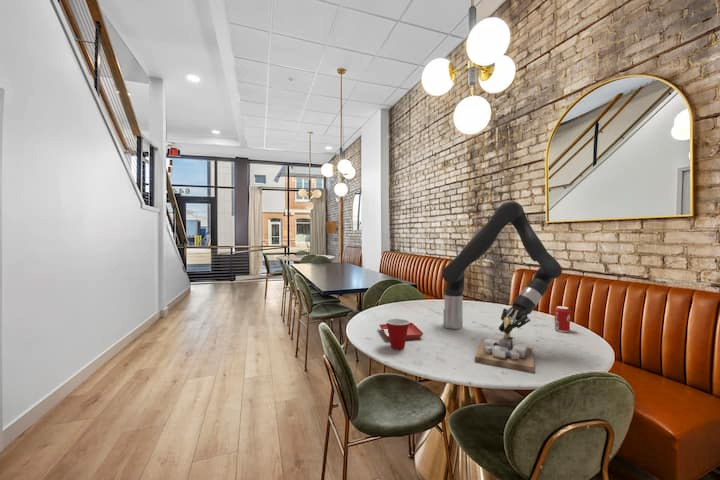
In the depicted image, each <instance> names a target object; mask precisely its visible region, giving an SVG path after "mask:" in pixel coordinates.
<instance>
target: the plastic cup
mask: <svg viewBox="0 0 720 480" xmlns="http://www.w3.org/2000/svg"><path fill="white" fill-rule="evenodd" d="M410 322H411V321H410V320H408V319H403V318H389V319H388V318H387V319H386V320H385V324H387V328H388V333H389V339H390V340H389V339H388V340H389V342H390V343H389V344H390V347H392V348H393V349H392V348H391V349H392V350H395V349H402V350H404V349H405V346H406V336H407V329H408V326H409V324H410ZM403 348H404V349H403Z"/></svg>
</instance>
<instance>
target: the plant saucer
mask: <svg viewBox="0 0 720 480" xmlns="http://www.w3.org/2000/svg"><path fill="white" fill-rule="evenodd" d="M378 326H379V328H380V330H381V331H382V332H383V334H384V336H385V337H386V338H387V340H388V341H390V339H389V336H387V335H386V334H385V332H384V331H383V329H388V328H387V323H385V324H384V323H382V324H378ZM423 335H424V332H423V331H422V330H421V329H420V328H419V327H418V326H417V325H415V324H414V323H413V322H411V321H410V324H409V326H408V329H407V336H406V339H408V340H419V339H420V338H421V337H422V336H423Z"/></svg>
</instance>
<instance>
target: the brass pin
mask: <svg viewBox="0 0 720 480" xmlns="http://www.w3.org/2000/svg"><path fill="white" fill-rule="evenodd" d="M510 318H511V317H510ZM510 318H509V317H504V329H505V328H506V327H507V325H508V324H510ZM503 336H504V338H505V339H510V337H511V332H510V333H509V334H506V333H505V332H504V331H503Z"/></svg>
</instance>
